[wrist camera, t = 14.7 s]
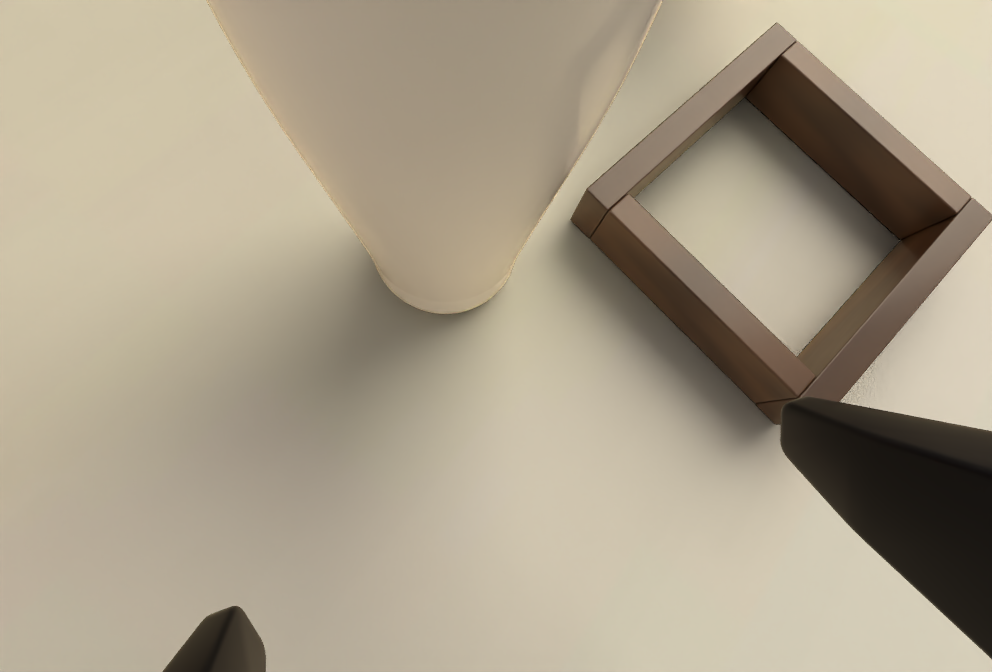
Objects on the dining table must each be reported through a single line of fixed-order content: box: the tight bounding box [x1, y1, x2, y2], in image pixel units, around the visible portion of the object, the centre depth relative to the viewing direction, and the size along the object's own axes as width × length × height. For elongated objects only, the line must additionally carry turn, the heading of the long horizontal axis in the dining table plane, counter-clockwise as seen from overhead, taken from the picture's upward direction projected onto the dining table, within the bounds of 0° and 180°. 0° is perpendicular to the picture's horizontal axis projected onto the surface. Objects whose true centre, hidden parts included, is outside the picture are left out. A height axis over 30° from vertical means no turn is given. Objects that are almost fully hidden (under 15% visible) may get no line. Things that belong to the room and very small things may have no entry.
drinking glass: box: [206, 0, 663, 314], centre depth 12 cm, size 7×7×15 cm
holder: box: [570, 23, 992, 425], centre depth 20 cm, size 11×11×2 cm
